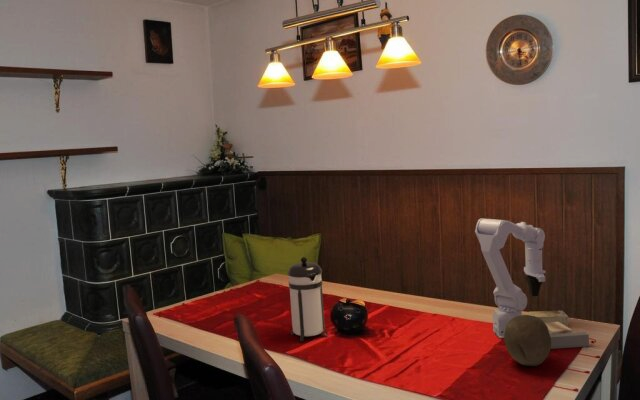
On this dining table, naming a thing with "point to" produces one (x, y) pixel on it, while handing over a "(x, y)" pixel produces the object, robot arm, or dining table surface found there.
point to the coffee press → (306, 299)
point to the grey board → (569, 340)
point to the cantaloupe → (527, 340)
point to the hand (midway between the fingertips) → (534, 295)
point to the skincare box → (551, 316)
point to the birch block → (557, 328)
